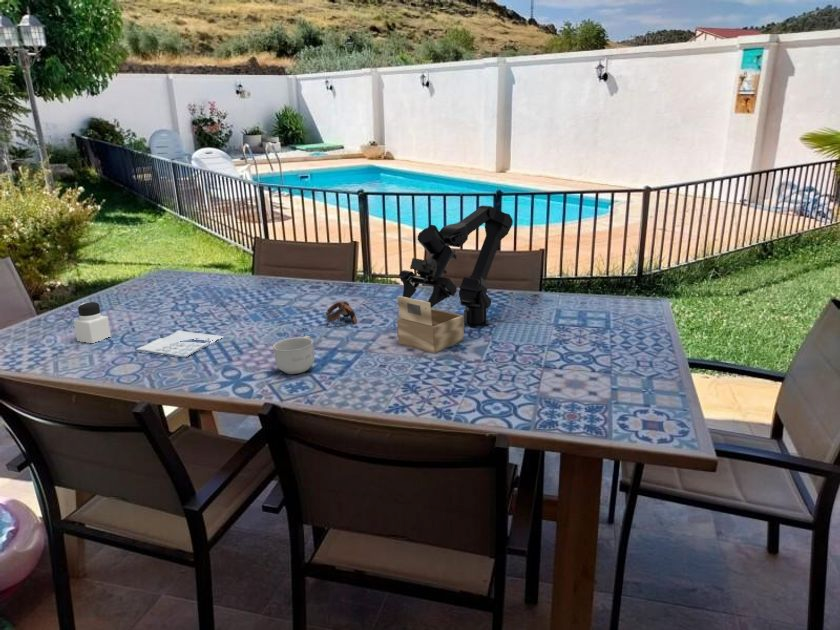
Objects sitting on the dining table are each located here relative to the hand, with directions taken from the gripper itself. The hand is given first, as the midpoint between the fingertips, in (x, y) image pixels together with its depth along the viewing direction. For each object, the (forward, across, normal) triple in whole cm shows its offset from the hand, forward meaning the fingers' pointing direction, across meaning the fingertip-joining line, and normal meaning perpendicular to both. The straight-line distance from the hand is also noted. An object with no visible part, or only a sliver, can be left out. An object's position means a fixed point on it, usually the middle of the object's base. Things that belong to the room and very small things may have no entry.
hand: (414, 306), depth 184 cm
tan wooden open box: (+4, 0, +14) cm, 15 cm away
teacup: (+32, -15, -13) cm, 37 cm away
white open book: (+39, -59, -20) cm, 74 cm away
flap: (+1, 0, +1) cm, 1 cm away
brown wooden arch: (+6, -37, +12) cm, 39 cm away
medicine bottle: (+50, -86, -32) cm, 105 cm away
